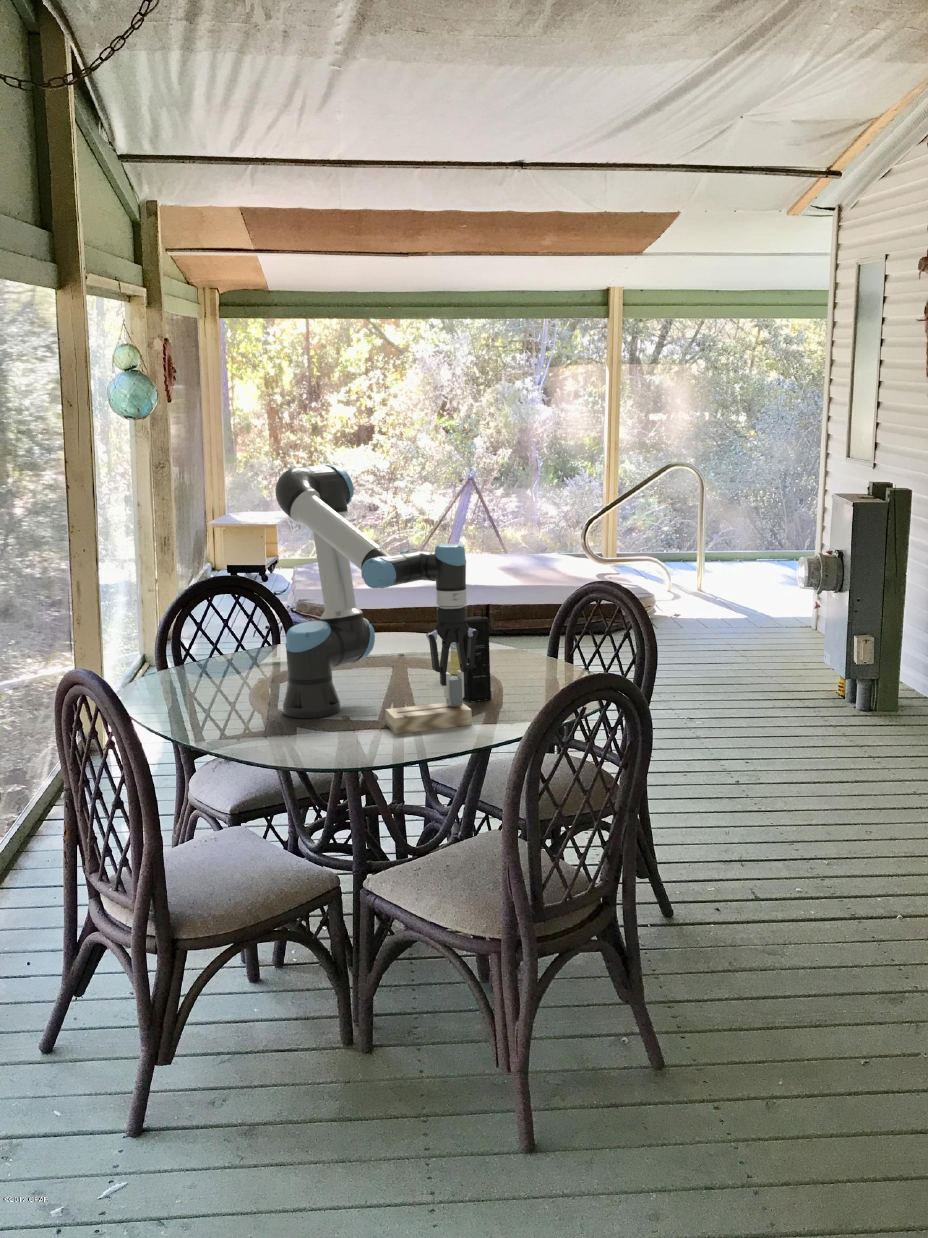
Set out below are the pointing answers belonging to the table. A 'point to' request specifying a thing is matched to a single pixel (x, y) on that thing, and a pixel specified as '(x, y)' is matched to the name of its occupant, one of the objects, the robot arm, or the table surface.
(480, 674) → the portable radio
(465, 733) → the table surface
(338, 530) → the robot arm
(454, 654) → the candy box
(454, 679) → the blue-grey rectangular block
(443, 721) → the wooden block with slot
